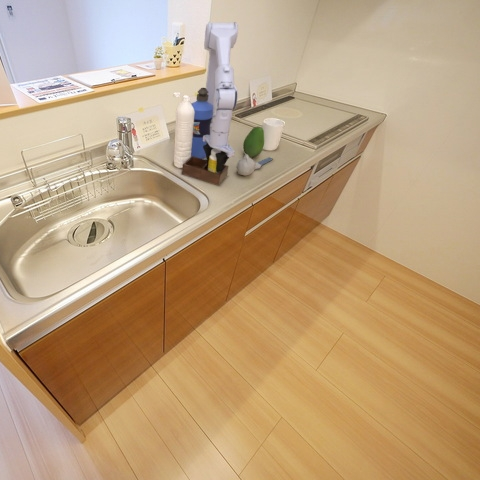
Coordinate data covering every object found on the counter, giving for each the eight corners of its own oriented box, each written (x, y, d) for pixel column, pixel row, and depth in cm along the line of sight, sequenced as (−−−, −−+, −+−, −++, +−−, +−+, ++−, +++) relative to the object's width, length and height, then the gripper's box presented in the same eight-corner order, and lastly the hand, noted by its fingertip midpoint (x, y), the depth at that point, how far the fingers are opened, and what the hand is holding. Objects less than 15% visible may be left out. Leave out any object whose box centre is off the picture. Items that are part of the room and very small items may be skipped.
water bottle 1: (193, 164, 108) (200, 96, 91) (182, 170, 105) (186, 100, 88) (177, 157, 113) (180, 90, 95) (166, 162, 109) (167, 94, 92)
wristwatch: (234, 172, 104) (234, 170, 103) (267, 157, 112) (267, 155, 112) (243, 177, 101) (243, 174, 100) (275, 161, 110) (276, 159, 109)
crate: (182, 174, 103) (182, 164, 100) (191, 165, 108) (192, 155, 105) (218, 185, 97) (220, 175, 94) (226, 175, 102) (228, 165, 99)
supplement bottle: (215, 177, 97) (219, 155, 91) (204, 172, 99) (207, 150, 94) (222, 172, 100) (226, 150, 94) (211, 167, 102) (215, 146, 96)
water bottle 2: (195, 146, 119) (202, 82, 102) (212, 153, 115) (222, 88, 97) (180, 153, 115) (184, 88, 97) (197, 161, 110) (204, 94, 92)
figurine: (257, 177, 101) (263, 157, 95) (240, 179, 100) (244, 159, 94) (248, 168, 105) (253, 148, 100) (232, 170, 104) (236, 151, 98)
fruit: (237, 156, 113) (243, 127, 105) (245, 150, 117) (252, 121, 109) (255, 162, 109) (263, 132, 101) (263, 155, 114) (271, 126, 106)
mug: (285, 145, 121) (293, 120, 114) (269, 153, 115) (277, 127, 108) (268, 138, 126) (275, 114, 118) (253, 146, 120) (259, 121, 113)
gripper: (245, 135, 86) (236, 173, 95) (216, 120, 95) (211, 156, 104) (227, 139, 83) (220, 179, 93) (199, 124, 92) (195, 161, 102)
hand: (214, 167), depth 98 cm, fingers closed on supplement bottle, 5 cm apart
